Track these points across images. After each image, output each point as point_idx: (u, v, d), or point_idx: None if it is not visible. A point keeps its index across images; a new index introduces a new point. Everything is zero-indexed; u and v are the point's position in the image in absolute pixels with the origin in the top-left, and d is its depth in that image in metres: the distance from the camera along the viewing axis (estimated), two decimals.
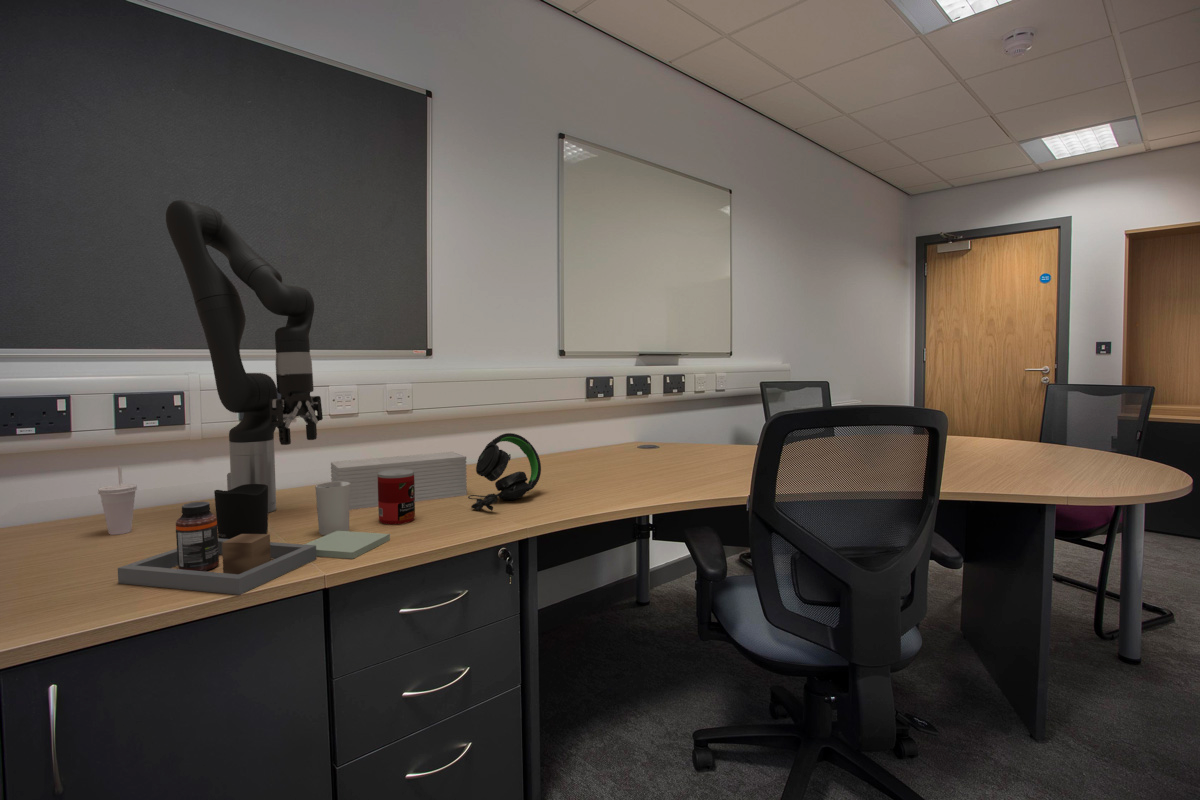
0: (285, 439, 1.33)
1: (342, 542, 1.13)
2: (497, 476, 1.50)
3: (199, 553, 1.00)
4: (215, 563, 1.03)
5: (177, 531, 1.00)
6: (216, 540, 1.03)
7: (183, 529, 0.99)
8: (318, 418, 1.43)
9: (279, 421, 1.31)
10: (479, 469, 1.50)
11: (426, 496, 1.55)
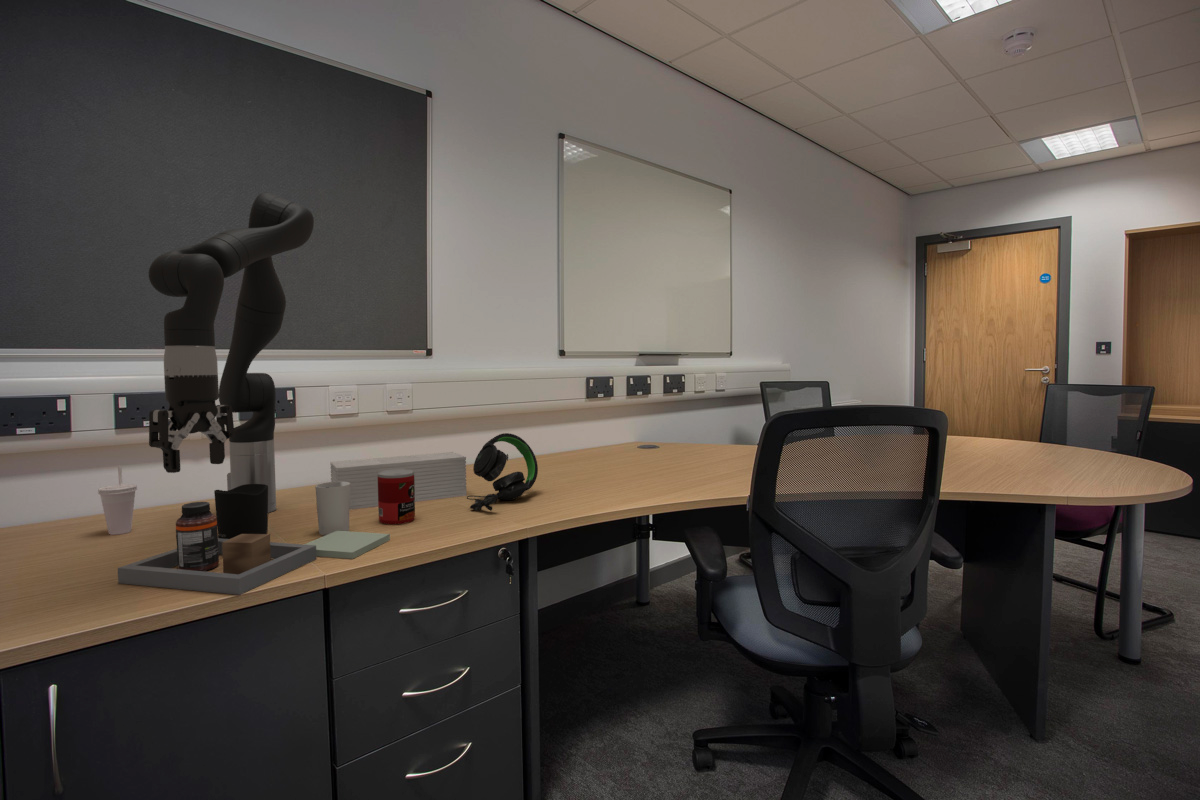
0: (172, 465, 0.97)
1: (342, 542, 1.13)
2: (495, 476, 1.49)
3: (199, 553, 1.00)
4: (215, 563, 1.03)
5: (177, 531, 1.00)
6: (216, 540, 1.03)
7: (183, 529, 0.99)
8: (227, 435, 1.07)
9: (161, 441, 0.94)
10: (477, 469, 1.50)
11: (426, 497, 1.54)
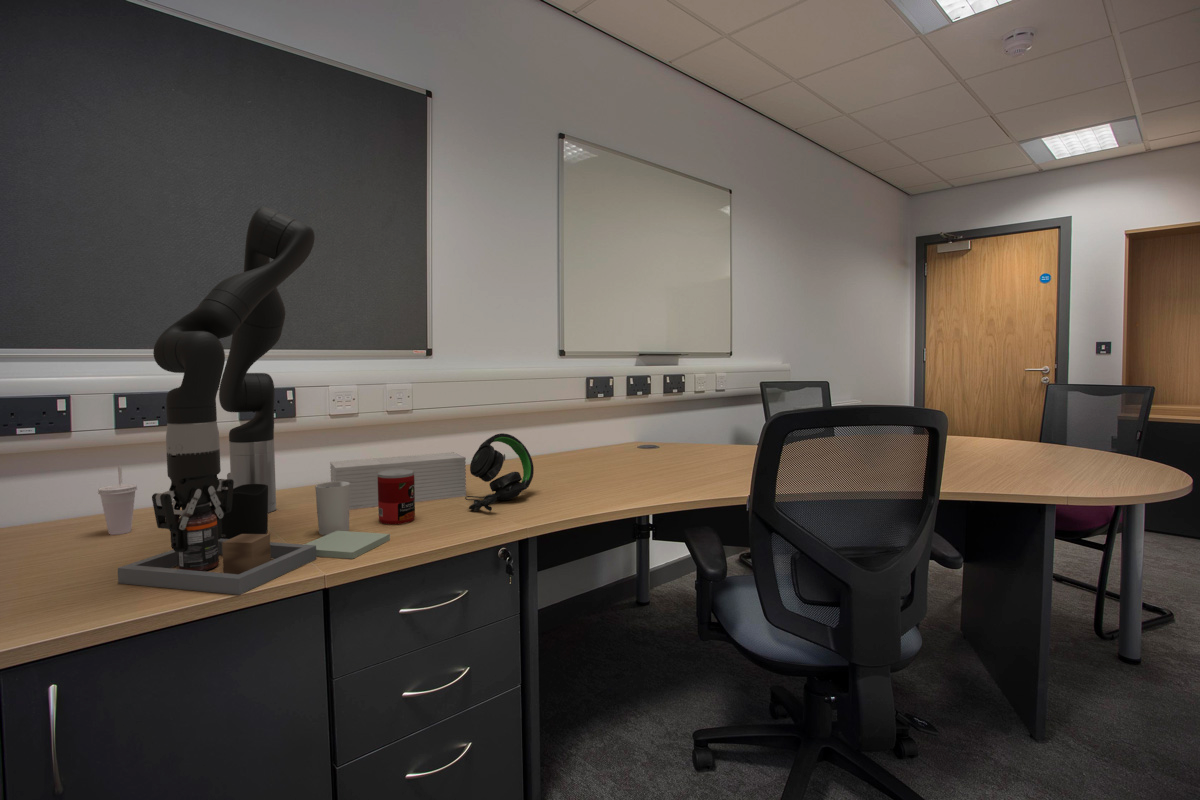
0: (179, 545, 0.98)
1: (342, 542, 1.13)
2: (493, 476, 1.49)
3: (199, 553, 1.00)
4: (215, 563, 1.03)
5: None
6: (216, 540, 1.03)
7: None
8: (225, 510, 1.07)
9: (169, 523, 0.96)
10: (474, 470, 1.49)
11: (425, 497, 1.54)
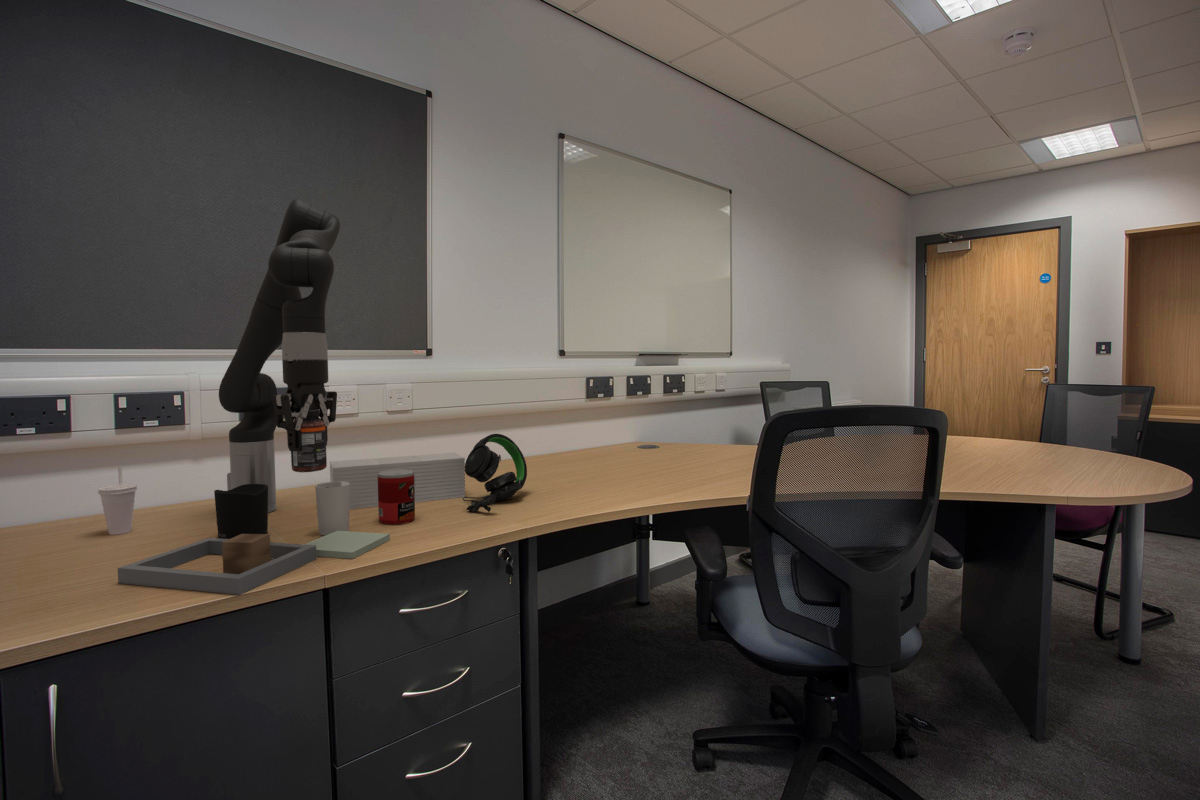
0: (295, 444, 1.06)
1: (342, 542, 1.13)
2: (489, 477, 1.49)
3: (312, 454, 1.08)
4: (324, 465, 1.10)
5: None
6: (325, 444, 1.11)
7: None
8: (330, 419, 1.15)
9: (288, 422, 1.04)
10: (470, 470, 1.48)
11: (423, 497, 1.53)
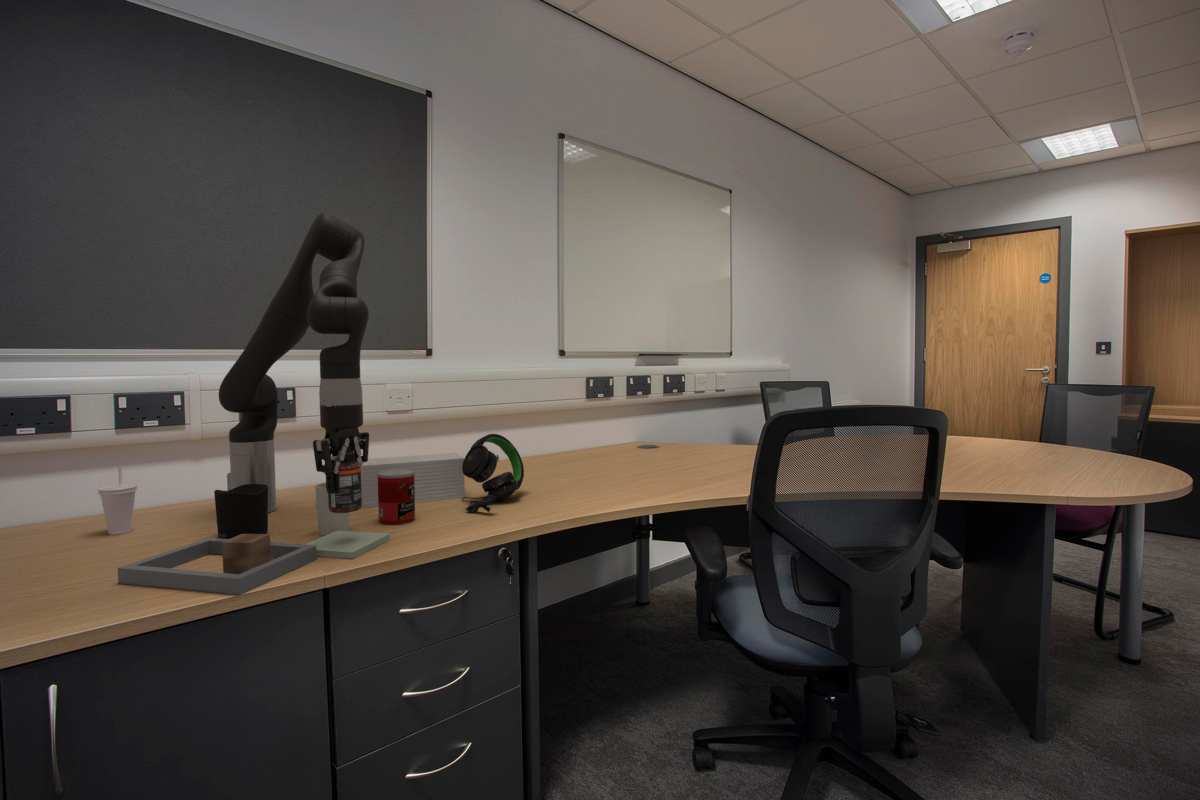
0: (333, 487, 1.10)
1: (342, 542, 1.13)
2: (487, 477, 1.48)
3: (349, 495, 1.12)
4: (360, 505, 1.14)
5: None
6: (360, 485, 1.15)
7: None
8: (363, 459, 1.18)
9: (328, 466, 1.08)
10: (468, 471, 1.48)
11: (423, 498, 1.53)
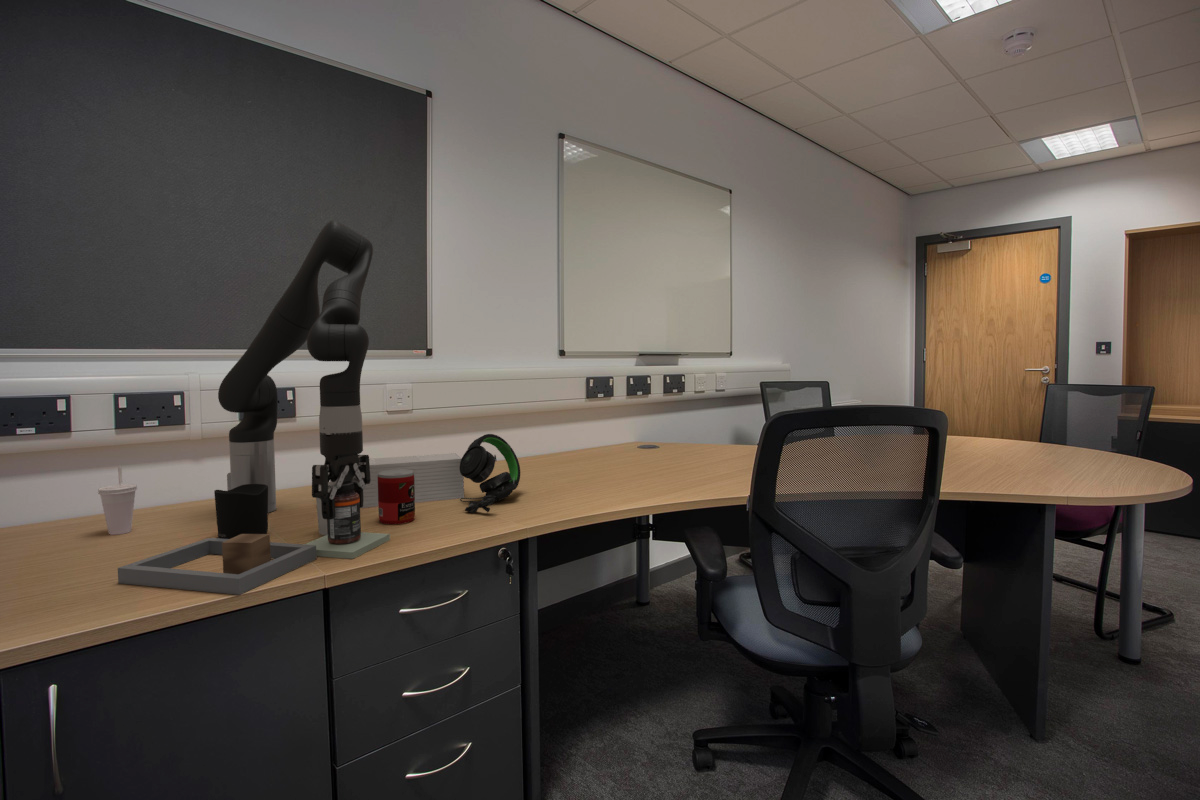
0: (329, 513, 1.09)
1: None
2: (485, 477, 1.48)
3: (348, 526, 1.12)
4: (359, 536, 1.14)
5: None
6: (359, 515, 1.15)
7: None
8: (365, 481, 1.19)
9: (323, 493, 1.07)
10: (466, 471, 1.47)
11: (422, 498, 1.52)
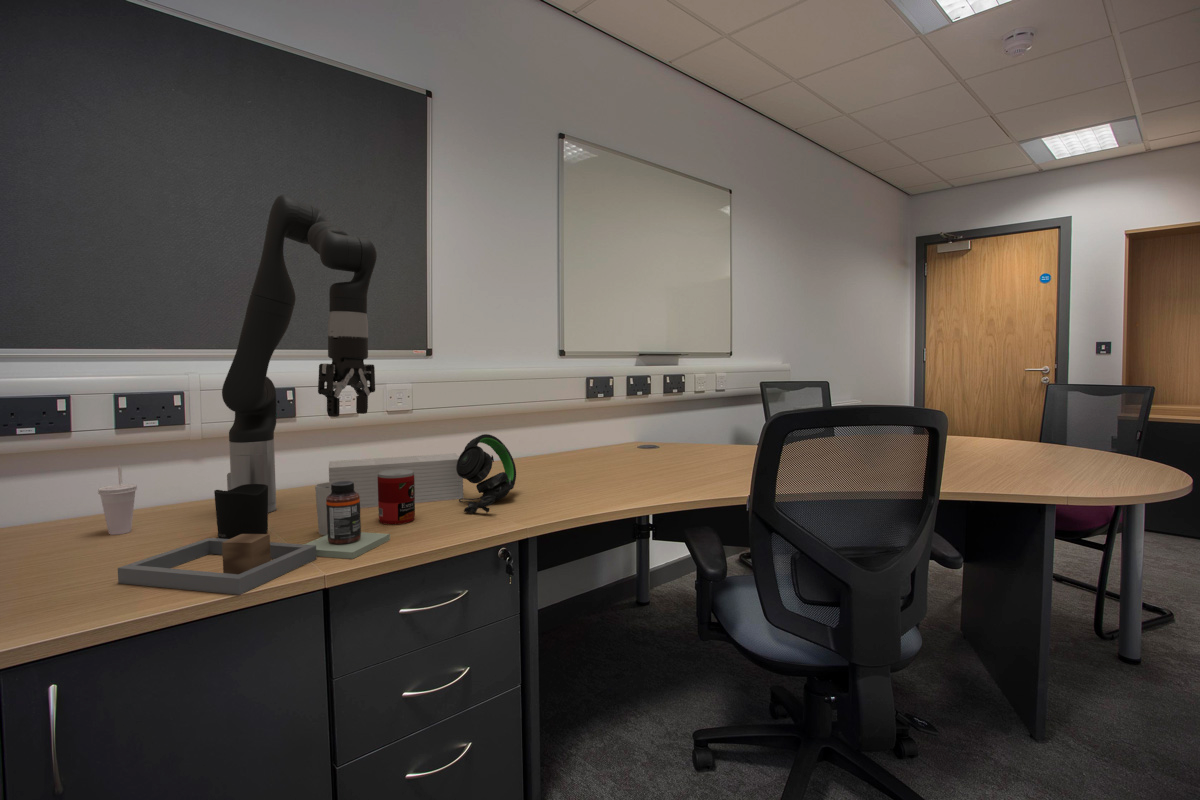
0: (333, 410, 1.16)
1: None
2: (483, 478, 1.47)
3: (348, 526, 1.12)
4: (359, 536, 1.14)
5: (329, 506, 1.12)
6: (359, 515, 1.15)
7: (334, 505, 1.11)
8: (370, 389, 1.27)
9: (328, 389, 1.14)
10: (464, 472, 1.47)
11: (421, 498, 1.52)
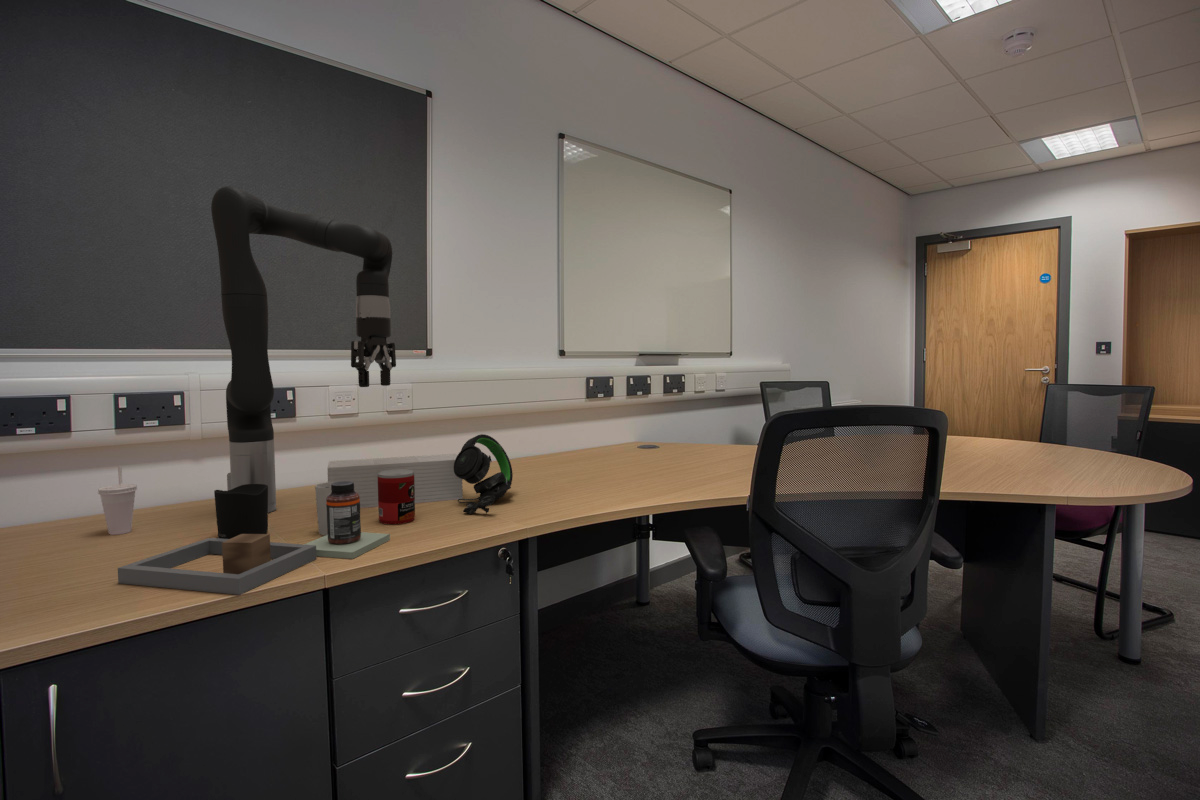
0: (364, 381, 1.34)
1: None
2: (481, 478, 1.47)
3: (348, 526, 1.12)
4: (359, 536, 1.14)
5: (329, 506, 1.12)
6: (359, 515, 1.15)
7: (334, 505, 1.11)
8: (392, 365, 1.44)
9: (360, 362, 1.32)
10: (462, 472, 1.46)
11: (420, 499, 1.52)
